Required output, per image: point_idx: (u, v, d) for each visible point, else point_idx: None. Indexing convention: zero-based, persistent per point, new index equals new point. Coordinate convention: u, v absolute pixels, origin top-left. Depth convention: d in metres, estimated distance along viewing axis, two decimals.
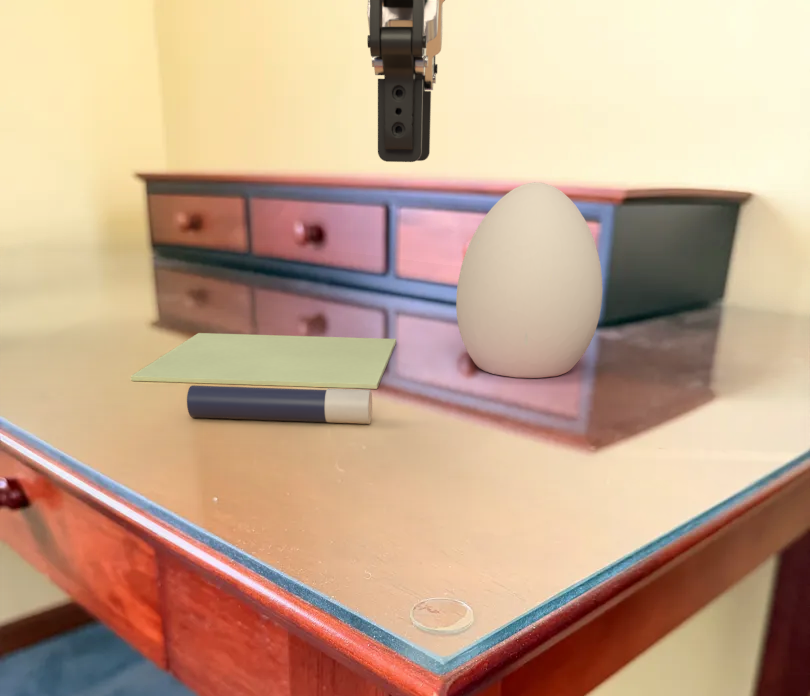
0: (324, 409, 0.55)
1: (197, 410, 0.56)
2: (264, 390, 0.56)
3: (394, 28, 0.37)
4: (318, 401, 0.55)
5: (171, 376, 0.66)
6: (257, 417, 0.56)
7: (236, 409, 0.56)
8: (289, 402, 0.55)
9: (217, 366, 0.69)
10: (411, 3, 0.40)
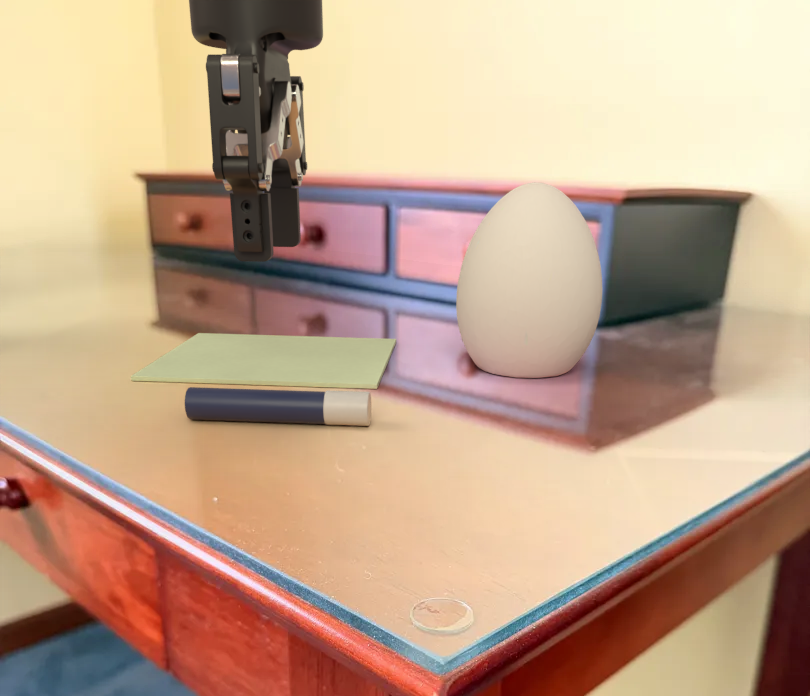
0: (323, 416, 0.55)
1: (196, 417, 0.56)
2: (261, 396, 0.55)
3: (234, 157, 0.44)
4: (317, 410, 0.55)
5: (171, 376, 0.66)
6: (257, 421, 0.56)
7: (235, 416, 0.56)
8: (288, 411, 0.55)
9: (217, 366, 0.69)
10: None
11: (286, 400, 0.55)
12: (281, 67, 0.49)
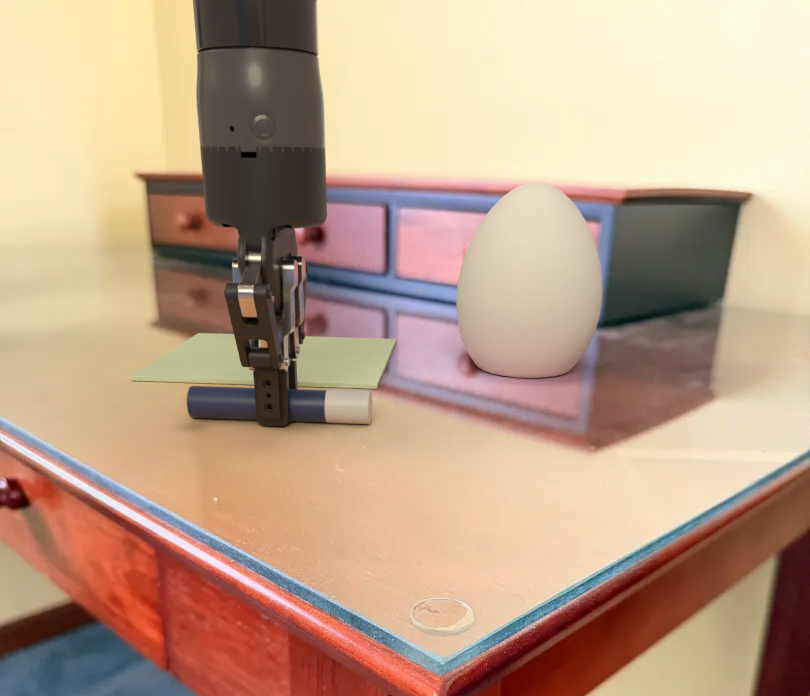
0: (324, 410, 0.55)
1: (197, 412, 0.56)
2: None
3: (258, 350, 0.51)
4: (318, 403, 0.55)
5: (171, 376, 0.66)
6: None
7: (236, 411, 0.56)
8: None
9: (217, 366, 0.69)
10: None
11: None
12: (288, 241, 0.53)
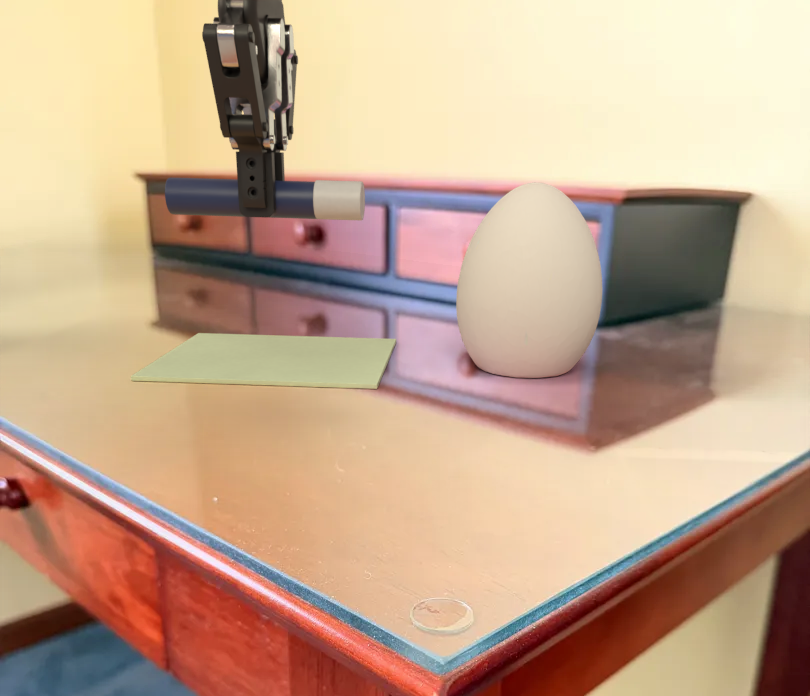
0: (313, 201, 0.51)
1: (176, 205, 0.52)
2: None
3: (240, 116, 0.47)
4: (306, 193, 0.51)
5: (171, 376, 0.66)
6: (240, 213, 0.52)
7: (218, 203, 0.52)
8: None
9: (217, 366, 0.69)
10: None
11: None
12: (275, 6, 0.49)
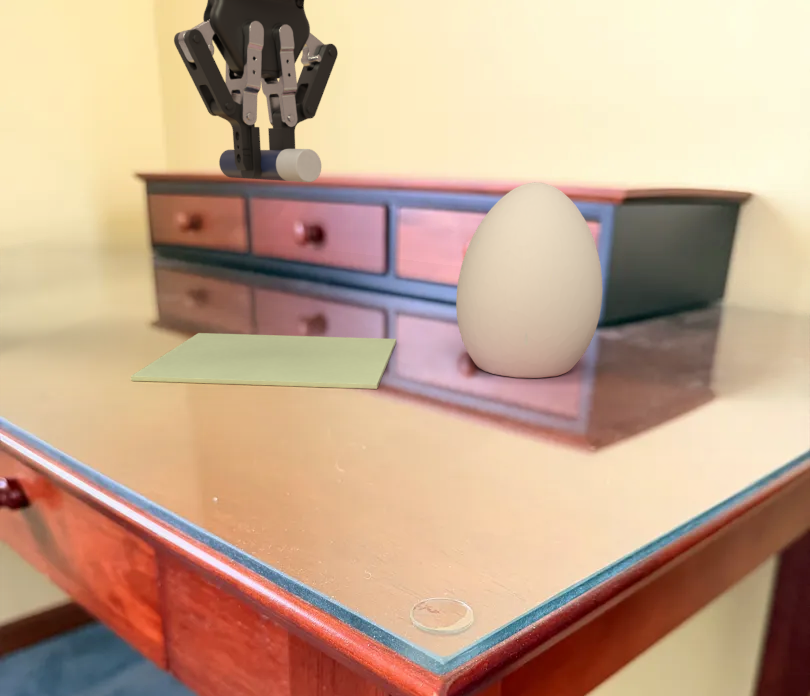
0: (277, 166, 0.64)
1: (224, 169, 0.70)
2: None
3: None
4: (274, 159, 0.64)
5: (171, 376, 0.66)
6: None
7: None
8: (261, 160, 0.65)
9: (217, 366, 0.69)
10: (230, 59, 0.62)
11: (265, 152, 0.65)
12: (275, 11, 0.62)
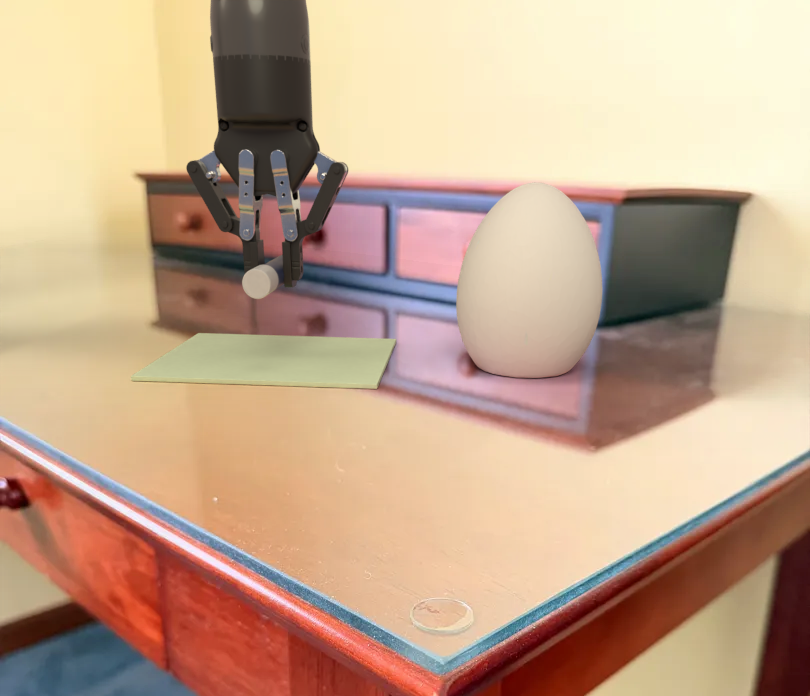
0: None
1: None
2: None
3: None
4: None
5: (171, 376, 0.66)
6: None
7: None
8: None
9: (217, 366, 0.69)
10: (235, 182, 0.67)
11: (264, 264, 0.69)
12: (274, 137, 0.65)
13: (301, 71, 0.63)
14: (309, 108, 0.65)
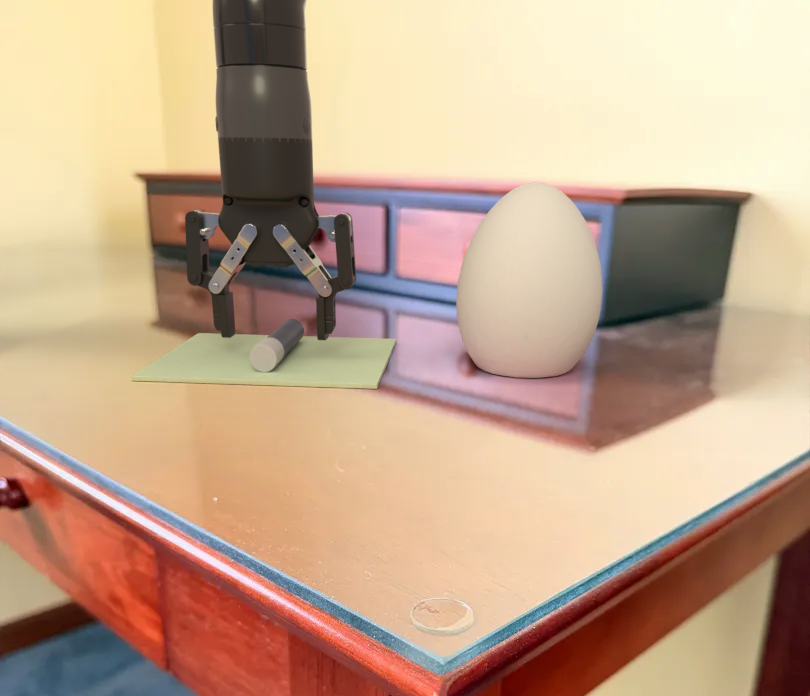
0: None
1: None
2: (278, 329, 0.73)
3: None
4: None
5: (171, 376, 0.66)
6: None
7: None
8: None
9: (217, 366, 0.69)
10: None
11: (272, 334, 0.72)
12: (276, 212, 0.67)
13: (303, 151, 0.65)
14: (310, 184, 0.67)
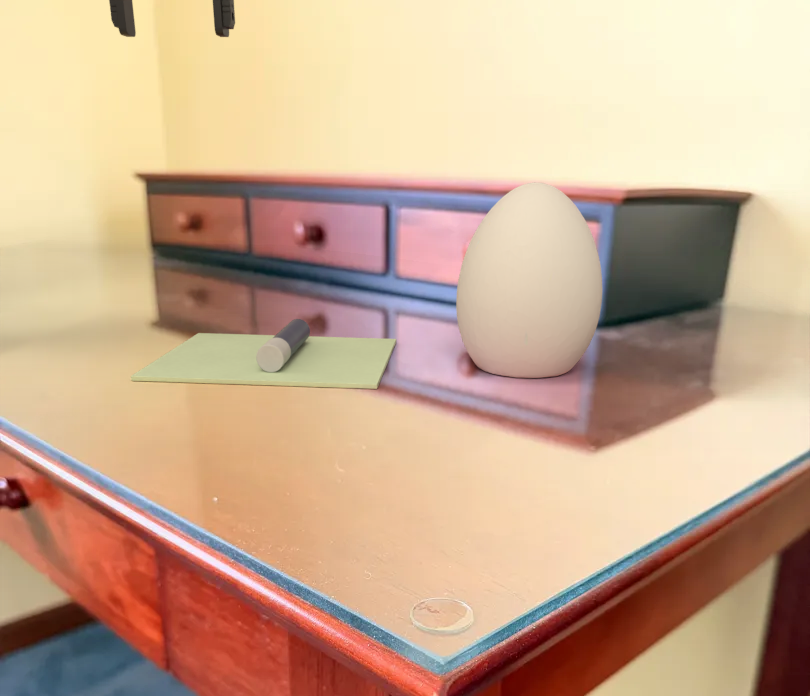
0: None
1: None
2: (290, 329, 0.73)
3: None
4: None
5: (171, 376, 0.66)
6: None
7: None
8: (275, 335, 0.72)
9: (217, 366, 0.69)
10: None
11: (284, 333, 0.72)
12: None
13: None
14: None
